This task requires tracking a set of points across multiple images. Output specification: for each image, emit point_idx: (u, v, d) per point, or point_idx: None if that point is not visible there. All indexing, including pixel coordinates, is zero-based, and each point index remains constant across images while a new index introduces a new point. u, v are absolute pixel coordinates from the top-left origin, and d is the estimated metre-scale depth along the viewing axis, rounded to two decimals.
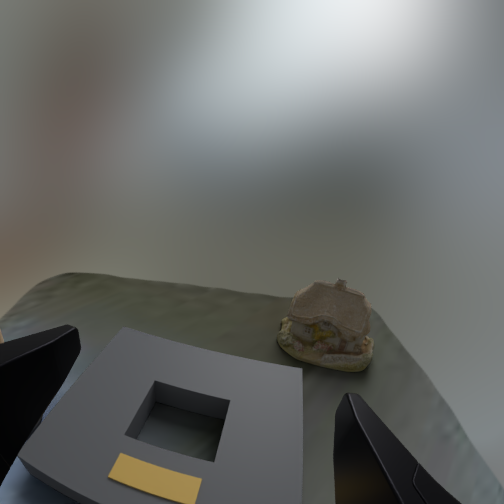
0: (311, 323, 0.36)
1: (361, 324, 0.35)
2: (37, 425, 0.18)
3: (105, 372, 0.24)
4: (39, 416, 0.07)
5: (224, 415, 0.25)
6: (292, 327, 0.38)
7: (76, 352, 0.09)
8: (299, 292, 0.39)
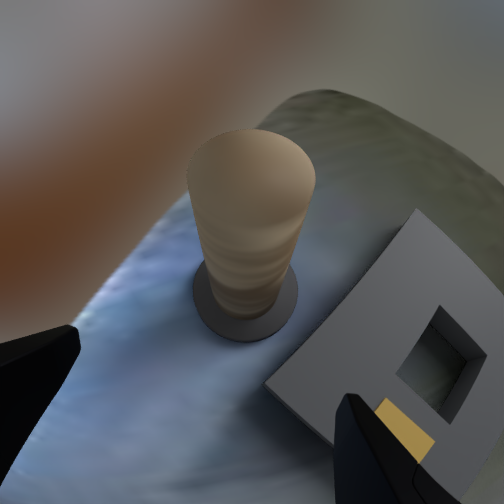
0: None
1: None
2: None
3: (393, 276, 0.22)
4: (39, 416, 0.07)
5: (469, 358, 0.21)
6: None
7: (76, 352, 0.09)
8: None
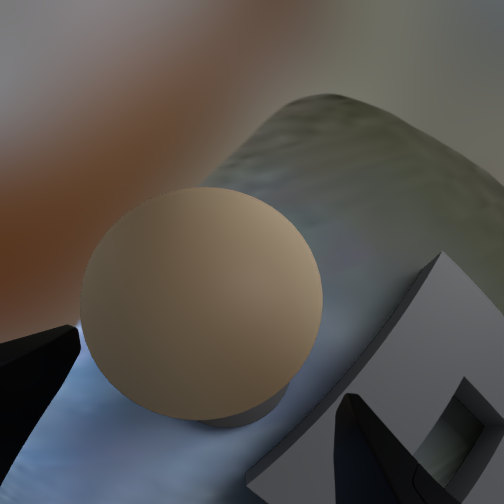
0: None
1: None
2: None
3: (413, 347, 0.16)
4: (39, 416, 0.07)
5: (488, 424, 0.15)
6: None
7: (76, 352, 0.09)
8: None
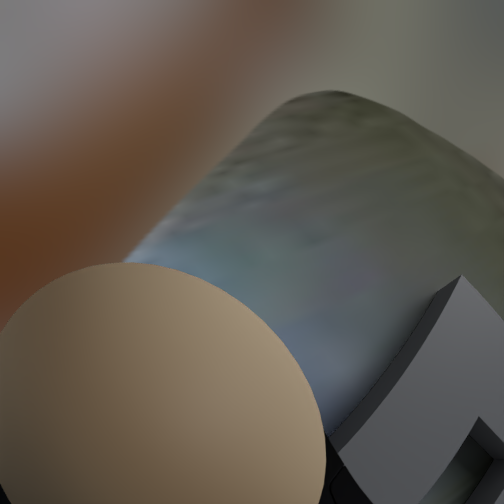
0: None
1: None
2: None
3: (426, 390, 0.13)
4: None
5: (498, 458, 0.12)
6: None
7: None
8: None
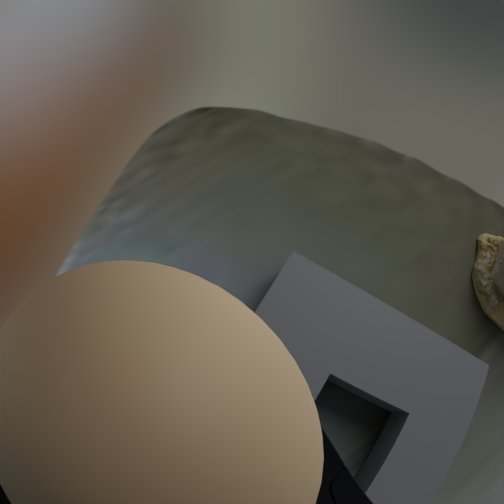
0: None
1: None
2: None
3: None
4: None
5: (392, 411, 0.19)
6: (496, 274, 0.22)
7: None
8: None
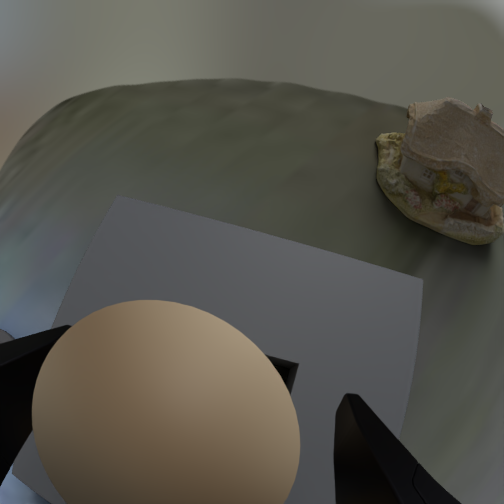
0: (439, 169, 0.19)
1: None
2: None
3: (85, 311, 0.15)
4: None
5: (287, 366, 0.16)
6: (405, 166, 0.21)
7: None
8: (419, 111, 0.18)
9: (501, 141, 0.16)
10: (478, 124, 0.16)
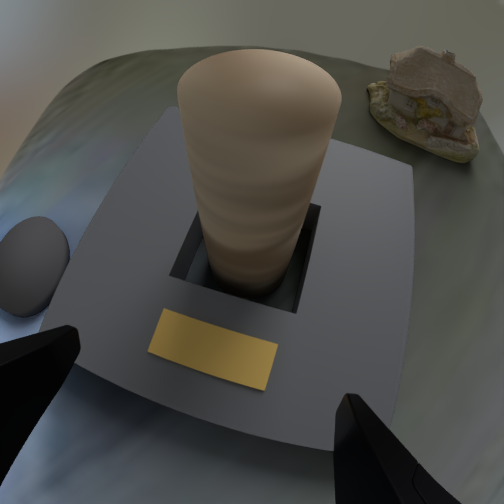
0: (417, 96, 0.23)
1: (473, 110, 0.21)
2: None
3: (142, 176, 0.19)
4: (39, 416, 0.07)
5: (309, 224, 0.21)
6: (391, 98, 0.25)
7: (76, 352, 0.09)
8: (398, 56, 0.23)
9: (465, 76, 0.20)
10: (445, 64, 0.20)
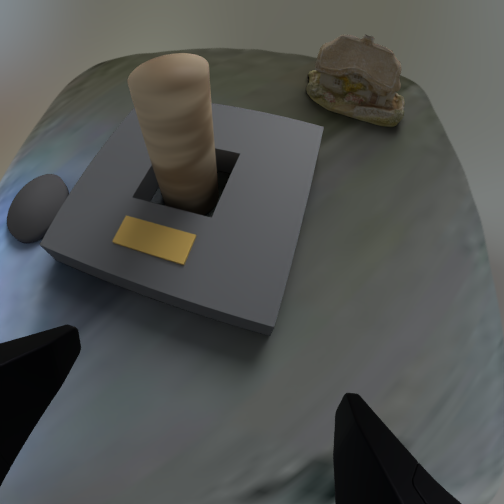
0: (341, 75, 0.30)
1: (392, 80, 0.29)
2: None
3: (122, 141, 0.26)
4: (39, 416, 0.07)
5: None
6: (321, 79, 0.33)
7: (76, 352, 0.09)
8: (325, 45, 0.30)
9: (383, 53, 0.28)
10: (364, 46, 0.28)
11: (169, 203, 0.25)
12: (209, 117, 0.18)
